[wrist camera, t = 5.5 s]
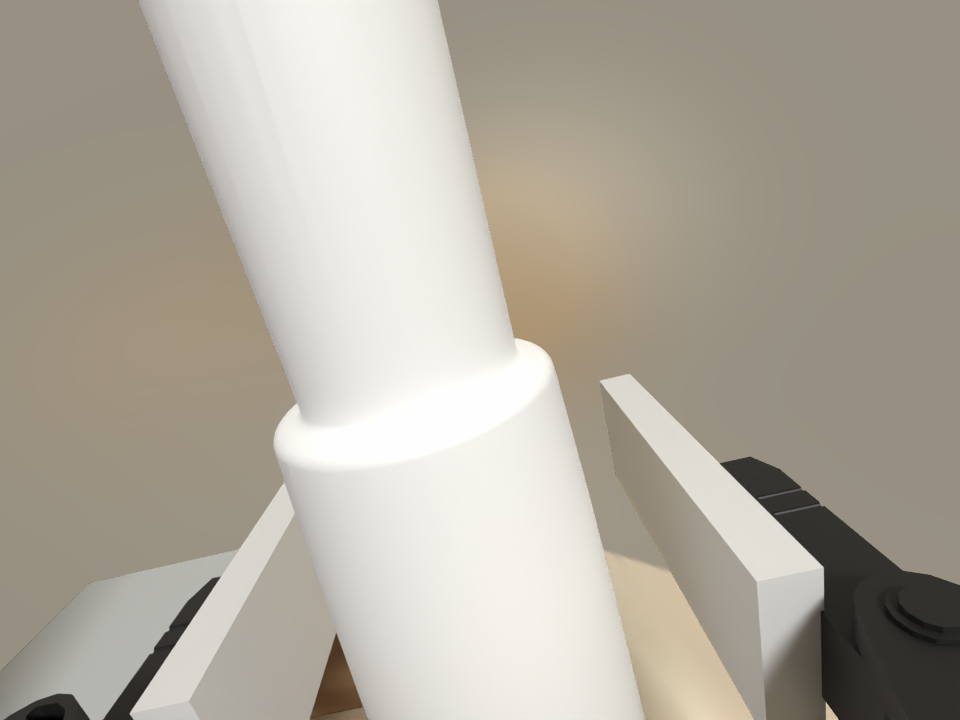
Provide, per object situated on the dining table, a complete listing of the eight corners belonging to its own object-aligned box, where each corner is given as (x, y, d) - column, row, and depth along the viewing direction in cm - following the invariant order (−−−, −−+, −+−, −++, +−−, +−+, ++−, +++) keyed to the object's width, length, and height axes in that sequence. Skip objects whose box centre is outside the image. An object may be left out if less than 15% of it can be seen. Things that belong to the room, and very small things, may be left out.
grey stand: (-39, 839, 18) (-101, 771, 17) (123, 637, 27) (89, 582, 25) (180, 795, 18) (132, 722, 16) (273, 604, 26) (246, 547, 25)
